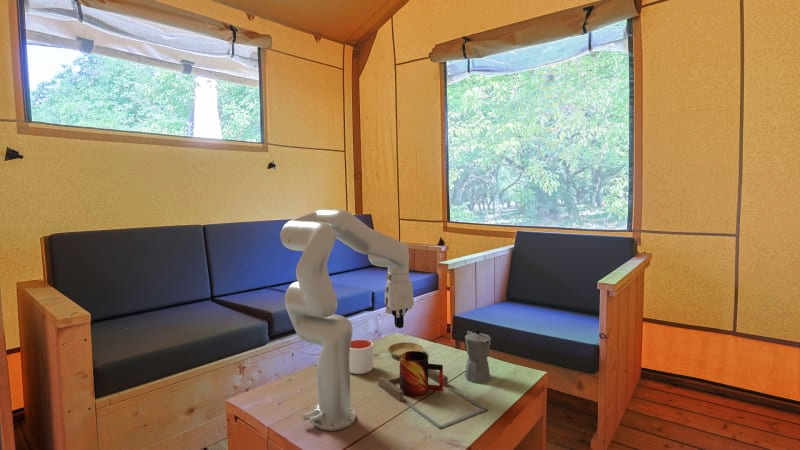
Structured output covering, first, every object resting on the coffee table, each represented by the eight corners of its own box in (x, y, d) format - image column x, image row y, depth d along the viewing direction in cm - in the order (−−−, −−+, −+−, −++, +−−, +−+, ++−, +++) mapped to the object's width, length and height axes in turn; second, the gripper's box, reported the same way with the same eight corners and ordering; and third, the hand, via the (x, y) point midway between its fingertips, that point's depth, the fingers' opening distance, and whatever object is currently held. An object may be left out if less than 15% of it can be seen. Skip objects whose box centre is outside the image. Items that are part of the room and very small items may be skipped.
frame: (439, 429, 121) (439, 428, 121) (405, 404, 135) (405, 403, 135) (487, 410, 131) (487, 409, 131) (451, 388, 146) (451, 387, 146)
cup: (378, 368, 163) (378, 342, 162) (362, 377, 155) (362, 351, 154) (357, 362, 169) (357, 337, 168) (341, 371, 160) (340, 345, 159)
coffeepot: (499, 382, 150) (500, 332, 149) (477, 387, 146) (478, 336, 145) (473, 366, 164) (473, 320, 163) (453, 371, 160) (453, 324, 159)
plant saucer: (430, 356, 175) (430, 349, 175) (402, 364, 167) (402, 358, 166) (408, 345, 187) (408, 339, 187) (380, 353, 178) (380, 347, 178)
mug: (443, 394, 142) (443, 359, 141) (402, 398, 139) (402, 363, 138) (436, 382, 151) (436, 349, 150) (397, 385, 148) (397, 352, 148)
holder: (399, 401, 137) (399, 392, 137) (378, 385, 148) (378, 377, 148) (447, 385, 148) (447, 377, 148) (424, 371, 159) (424, 364, 159)
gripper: (386, 281, 146) (387, 334, 147) (421, 276, 154) (421, 325, 156) (375, 278, 152) (376, 328, 154) (409, 272, 160) (410, 320, 162)
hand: (399, 326), depth 155 cm, fingers closed
